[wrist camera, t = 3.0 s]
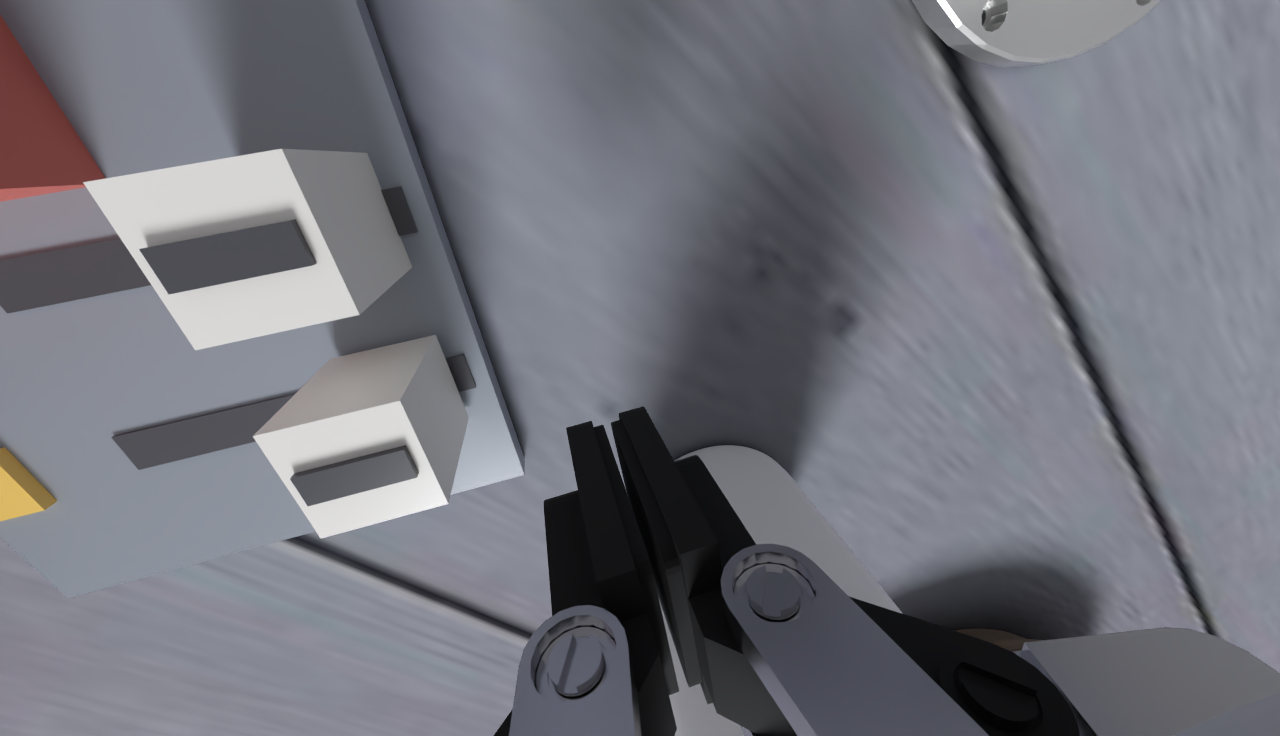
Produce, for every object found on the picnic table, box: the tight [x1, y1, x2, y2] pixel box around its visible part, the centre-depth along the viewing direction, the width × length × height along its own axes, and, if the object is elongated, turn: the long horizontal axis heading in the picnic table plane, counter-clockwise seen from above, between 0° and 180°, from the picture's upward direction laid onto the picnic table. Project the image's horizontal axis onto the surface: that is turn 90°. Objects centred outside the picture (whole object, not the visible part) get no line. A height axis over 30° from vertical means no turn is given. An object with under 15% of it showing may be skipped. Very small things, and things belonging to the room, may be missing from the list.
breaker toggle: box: [253, 335, 469, 538], centre depth 12 cm, size 3×3×4 cm
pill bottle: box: [658, 445, 903, 736], centre depth 14 cm, size 8×8×15 cm
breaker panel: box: [0, 0, 525, 598], centre depth 10 cm, size 15×18×6 cm
